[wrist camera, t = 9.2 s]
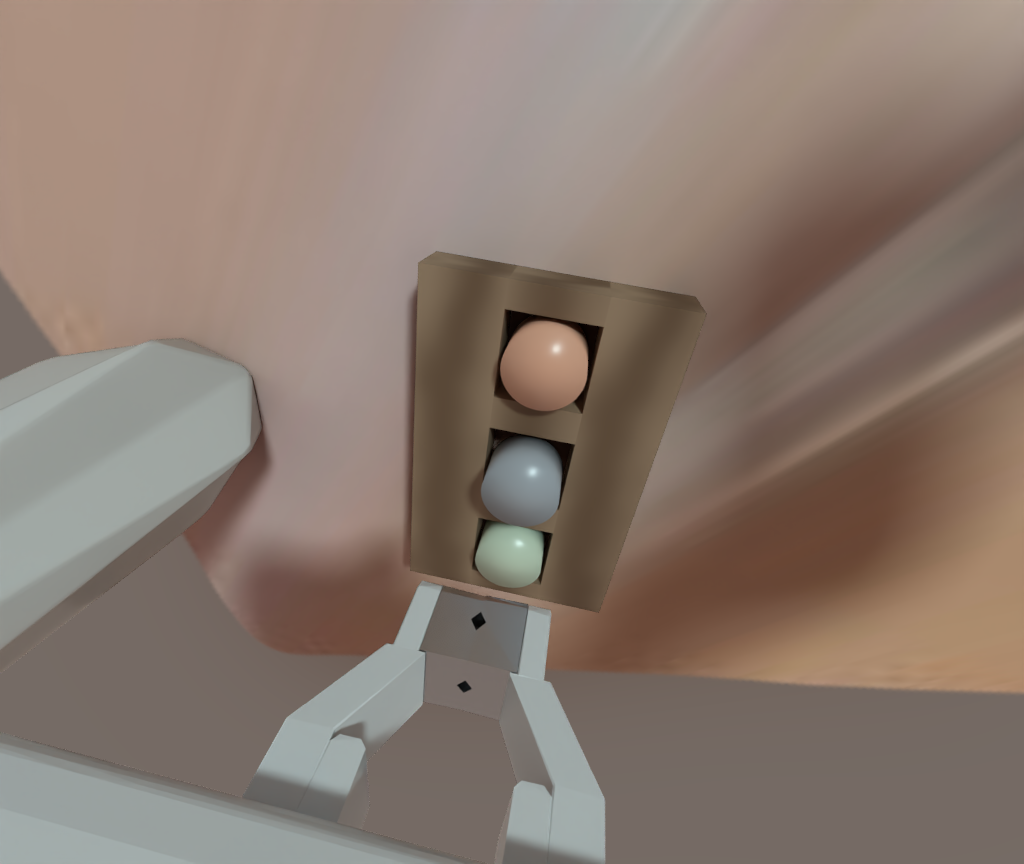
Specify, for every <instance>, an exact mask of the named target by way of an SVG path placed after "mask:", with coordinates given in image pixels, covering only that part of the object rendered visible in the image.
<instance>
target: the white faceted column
mask: <svg viewBox="0 0 1024 864" xmlns="http://www.w3.org/2000/svg"><path fill="white" fill-rule="evenodd" d="M261 429H262V426H261V420H260V415H259V410H258V404H257V399H256V395H255V390H254V385H253V380H252V376H251V374H250V373H249V372H248V371H247V370H246V368H245V367H244V366H242V365H240V364H238V363H236V362H234V361H232V360H230V359H227V358H225V357H223V356H221V355H219V354H217V353H215V352H212V351H210V350H208V349H206V348H204V347H202V346H199V345H197V344H195V343H193V342H191V341H188V340H186V339H184V338H175V339H157V340H150V341H147V342H144V343H142V344H139V345H134V346H127V347H120V348H113V349H106V350H99V351H92V352H85V353H78V354H71V355H64V356H57V357H54V358H51V359H47V360H44V361H41V362H38V363H36V364H34V365H31V366H29V367H27V368H25V369H22V370H20V371H18V372H16V373H13V374H11V375H9V376H7V377H5V378H3V379H1V380H0V674H1V673H2V672H3V671H4V670H6V669H7V668H8V667H10V666H11V665H12V664H13V663H15V662H16V661H17V660H19V659H20V658H21V657H22V656H24V655H25V654H26V653H28V652H29V651H30V650H32V649H33V648H34V647H35V646H37V645H38V644H39V643H41V642H42V641H43V640H44V639H46V638H47V637H48V636H50V635H51V634H52V633H53V632H55V631H56V630H57V629H59V628H60V627H61V626H63V625H64V624H65V623H66V622H68V621H69V620H70V619H72V618H73V617H74V616H75V615H77V614H78V613H79V612H81V611H82V610H83V609H84V608H86V607H87V606H88V605H90V604H91V603H92V602H94V601H95V600H96V599H97V598H99V597H100V596H101V595H102V594H104V593H105V592H106V591H108V590H109V589H110V588H112V587H113V586H114V585H115V584H117V583H118V582H119V581H121V580H122V579H123V578H125V577H126V576H127V575H128V574H130V573H131V572H132V571H134V570H135V569H136V568H137V567H139V566H140V565H142V564H143V563H144V562H145V561H147V560H148V559H149V558H151V557H152V556H153V555H154V554H156V553H157V552H158V551H160V550H161V549H162V548H164V547H165V546H166V545H167V544H169V543H170V542H171V541H172V540H174V539H175V538H176V537H178V536H179V535H180V534H182V533H183V532H184V531H185V530H186V529H188V528H189V527H190V526H191V525H193V524H194V523H195V522H196V521H197V520H199V519H200V518H201V517H202V516H203V515H204V514H205V513H206V512H207V511H208V510H209V509H210V507H211V506H212V504H213V503H214V501H215V499H216V498H217V496H218V495H219V493H220V492H221V490H222V489H223V487H224V486H225V484H226V483H227V481H228V479H229V478H230V476H231V475H232V473H233V472H234V470H235V469H236V467H237V466H238V464H239V462H240V461H241V459H243V458H244V457H245V456H246V455H247V454H248V453H249V452H250V451H251V450H252V449H253V447H254V444H255V442H256V440H257V438H258V436H259V434H260V432H261Z"/></svg>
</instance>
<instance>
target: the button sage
mask: <svg viewBox="0 0 1024 864" xmlns="http://www.w3.org/2000/svg"><path fill="white" fill-rule="evenodd" d="M544 543H545V532H544V531H539V530H534V529H529V528H525V527H520V526H514V525H510V524H506V523H501V522H497V521H492V520H487V521H486V524H485V527H484V530H483V533H482V537H481V540H480V543H479V546H478V550H477V553H476V557H475V563H476V566H477V569H478V570H479V572H480V573H481V574H482V576H484V577H485V578H486V579H487V580H489V581H490V582H492V583H494V584H496V585H499V586H503V587H508V588H519V587H524V586H527V585H529V584H531V583H533V582H534V581H535V580H536V579H537V578H538V576H539V575H540V572H541V565H542V558H543V550H544Z"/></svg>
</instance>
